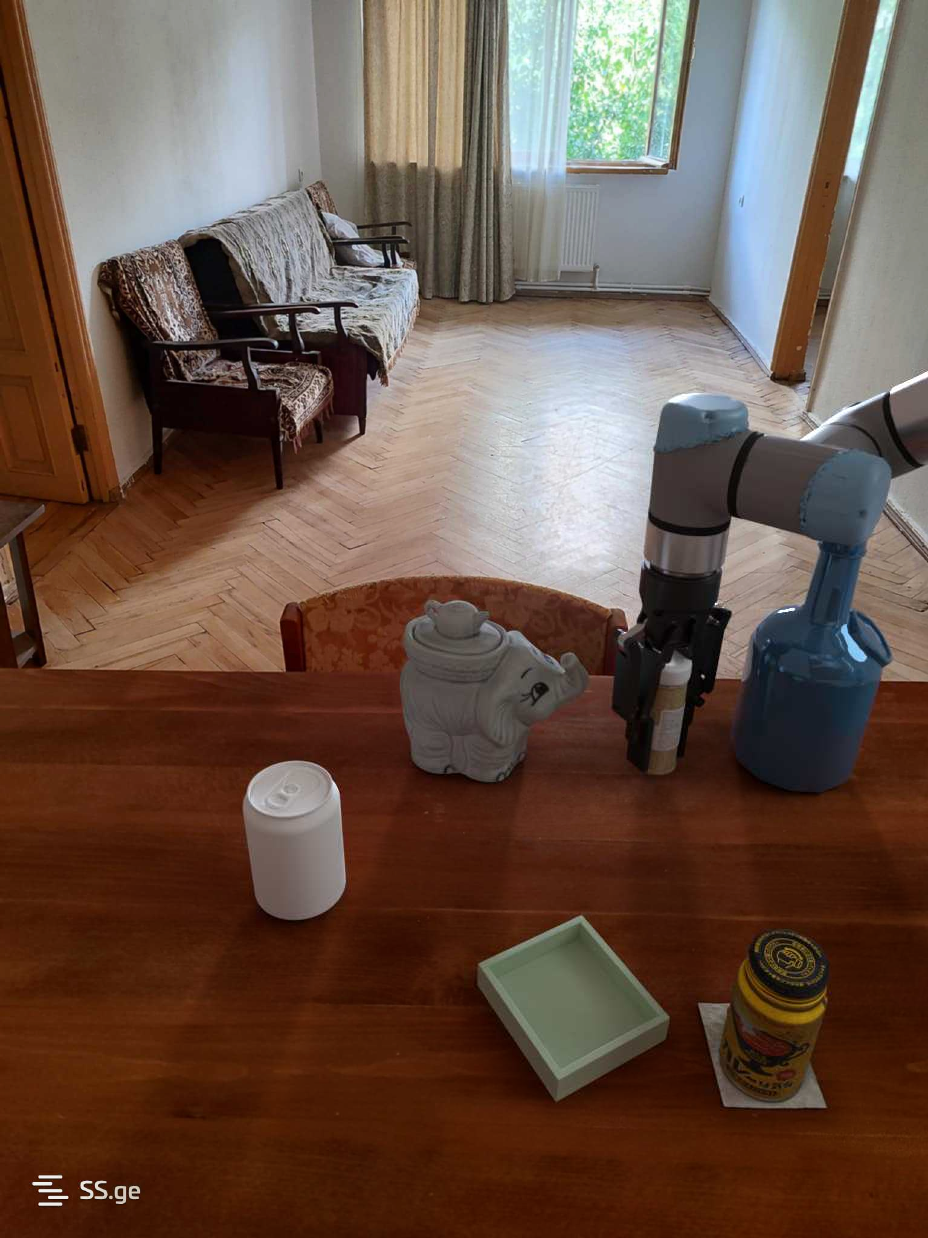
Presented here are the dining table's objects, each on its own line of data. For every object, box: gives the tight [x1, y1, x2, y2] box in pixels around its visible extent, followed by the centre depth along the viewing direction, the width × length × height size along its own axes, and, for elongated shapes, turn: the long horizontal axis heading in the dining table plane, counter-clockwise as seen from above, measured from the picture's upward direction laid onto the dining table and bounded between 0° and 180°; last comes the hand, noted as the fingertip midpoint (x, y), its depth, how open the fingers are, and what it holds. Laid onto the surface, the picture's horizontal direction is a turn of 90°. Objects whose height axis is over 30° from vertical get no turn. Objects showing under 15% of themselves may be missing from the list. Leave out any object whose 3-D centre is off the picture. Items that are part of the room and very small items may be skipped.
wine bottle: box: [729, 538, 893, 793], centre depth 90 cm, size 14×13×30 cm
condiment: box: [697, 928, 831, 1109], centre depth 64 cm, size 7×8×12 cm
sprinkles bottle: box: [644, 650, 692, 776], centre depth 92 cm, size 5×5×13 cm
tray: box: [476, 914, 671, 1103], centre depth 69 cm, size 11×10×3 cm
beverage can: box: [242, 760, 347, 921], centre depth 77 cm, size 8×8×12 cm
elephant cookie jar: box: [399, 599, 590, 783], centre depth 92 cm, size 16×15×19 cm
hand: (655, 757), depth 95 cm, fingers closed on sprinkles bottle, 4 cm apart
